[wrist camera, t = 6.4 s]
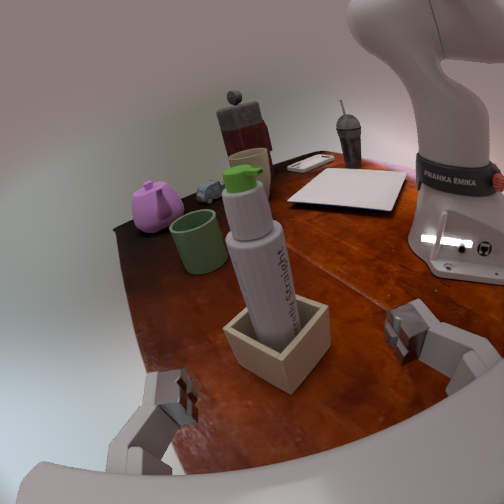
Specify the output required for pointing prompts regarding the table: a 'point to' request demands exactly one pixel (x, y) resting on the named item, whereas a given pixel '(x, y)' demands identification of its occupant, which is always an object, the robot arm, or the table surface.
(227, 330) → the ivory holder
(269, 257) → the bottle
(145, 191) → the teapot
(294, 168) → the phone case
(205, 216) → the green cup
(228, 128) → the red grey decanter
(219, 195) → the toy car
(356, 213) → the table surface
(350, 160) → the beverage cup
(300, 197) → the plate
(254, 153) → the mug
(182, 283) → the table surface
